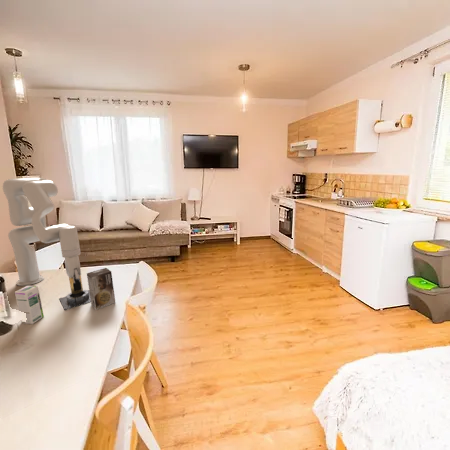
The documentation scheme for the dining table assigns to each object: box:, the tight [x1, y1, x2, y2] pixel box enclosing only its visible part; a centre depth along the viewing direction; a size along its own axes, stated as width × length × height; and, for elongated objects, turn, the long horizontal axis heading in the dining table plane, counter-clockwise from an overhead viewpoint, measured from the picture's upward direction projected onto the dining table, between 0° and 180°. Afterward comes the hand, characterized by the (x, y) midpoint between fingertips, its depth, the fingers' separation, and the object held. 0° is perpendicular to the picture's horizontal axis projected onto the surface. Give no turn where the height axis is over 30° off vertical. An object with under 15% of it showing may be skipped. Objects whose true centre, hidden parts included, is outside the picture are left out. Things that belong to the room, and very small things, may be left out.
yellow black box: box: [68, 274, 84, 294], centre depth 130 cm, size 5×5×8 cm
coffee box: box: [86, 267, 116, 311], centre depth 125 cm, size 9×6×16 cm
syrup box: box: [14, 285, 45, 325], centre depth 113 cm, size 6×6×14 cm
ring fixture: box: [59, 289, 91, 311], centre depth 132 cm, size 14×14×3 cm
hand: (76, 287), depth 130 cm, fingers closed on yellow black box, 5 cm apart
